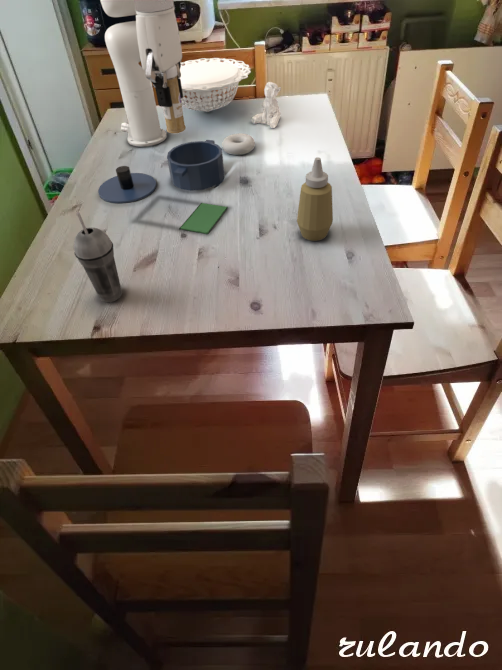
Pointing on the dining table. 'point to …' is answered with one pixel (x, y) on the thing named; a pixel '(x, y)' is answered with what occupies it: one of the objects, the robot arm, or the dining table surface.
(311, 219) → the squeeze bottle
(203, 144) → the pot
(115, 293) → the beverage cup
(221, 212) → the green flat rectangular board
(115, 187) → the lid
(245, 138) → the donut
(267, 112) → the seated beast figurine
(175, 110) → the sprinkles bottle
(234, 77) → the white wicker basket
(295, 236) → the dining table surface
